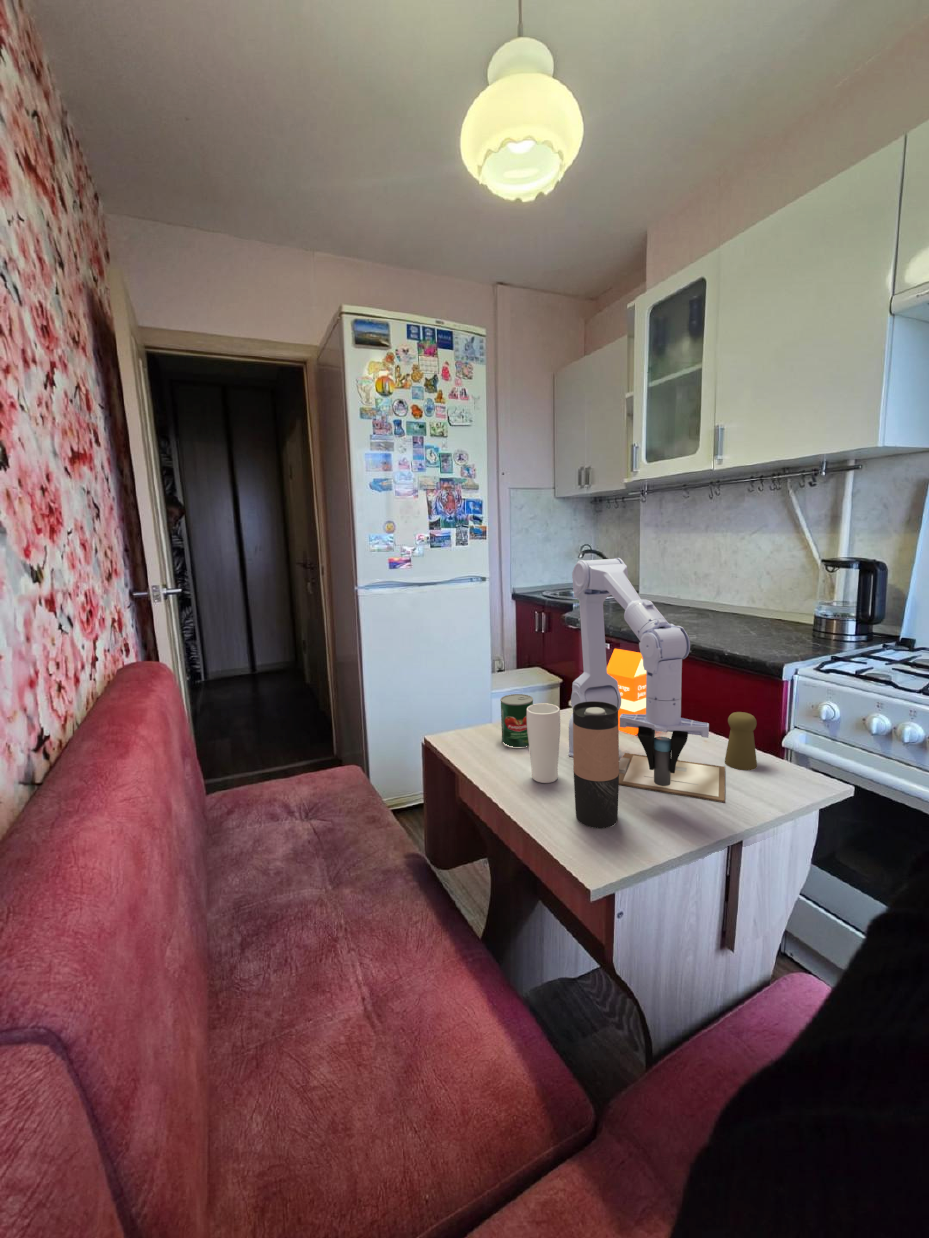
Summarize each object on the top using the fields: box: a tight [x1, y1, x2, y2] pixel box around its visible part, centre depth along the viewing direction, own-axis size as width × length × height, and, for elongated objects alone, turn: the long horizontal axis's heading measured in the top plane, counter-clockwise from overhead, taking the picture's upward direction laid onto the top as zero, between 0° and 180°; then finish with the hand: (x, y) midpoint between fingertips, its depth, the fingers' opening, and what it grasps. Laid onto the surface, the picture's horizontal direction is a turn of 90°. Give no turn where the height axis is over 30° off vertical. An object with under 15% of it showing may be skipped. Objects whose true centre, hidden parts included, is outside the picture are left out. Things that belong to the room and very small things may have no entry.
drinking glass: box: [526, 702, 561, 784], centre depth 104 cm, size 7×7×15 cm
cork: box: [724, 711, 758, 771], centre depth 106 cm, size 6×6×11 cm
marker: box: [654, 736, 671, 786], centre depth 90 cm, size 3×3×8 cm
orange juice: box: [607, 648, 646, 736], centre depth 129 cm, size 8×9×20 cm
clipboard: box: [619, 752, 726, 803], centre depth 103 cm, size 20×15×1 cm
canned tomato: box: [500, 693, 534, 748], centre depth 123 cm, size 8×8×11 cm
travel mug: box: [572, 701, 620, 830], centre depth 88 cm, size 8×8×20 cm
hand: (662, 769), depth 91 cm, fingers closed on marker, 3 cm apart
